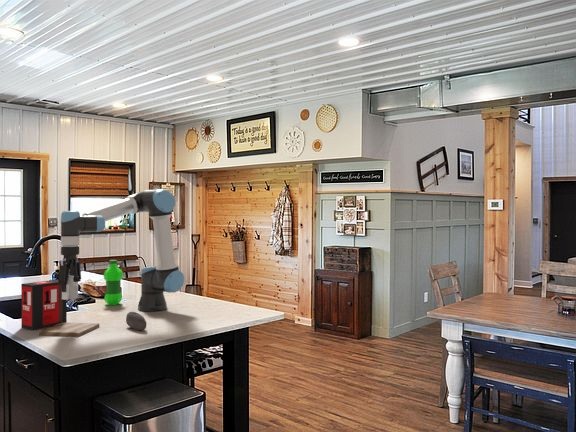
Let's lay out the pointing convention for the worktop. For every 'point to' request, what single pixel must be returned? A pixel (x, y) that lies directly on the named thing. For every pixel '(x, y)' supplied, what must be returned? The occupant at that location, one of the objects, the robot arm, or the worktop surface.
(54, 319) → the cleaning product box
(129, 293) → the worktop surface
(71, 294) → the flask
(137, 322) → the perforated stone tool
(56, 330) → the walnut board
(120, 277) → the plastic bottle
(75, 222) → the robot arm
